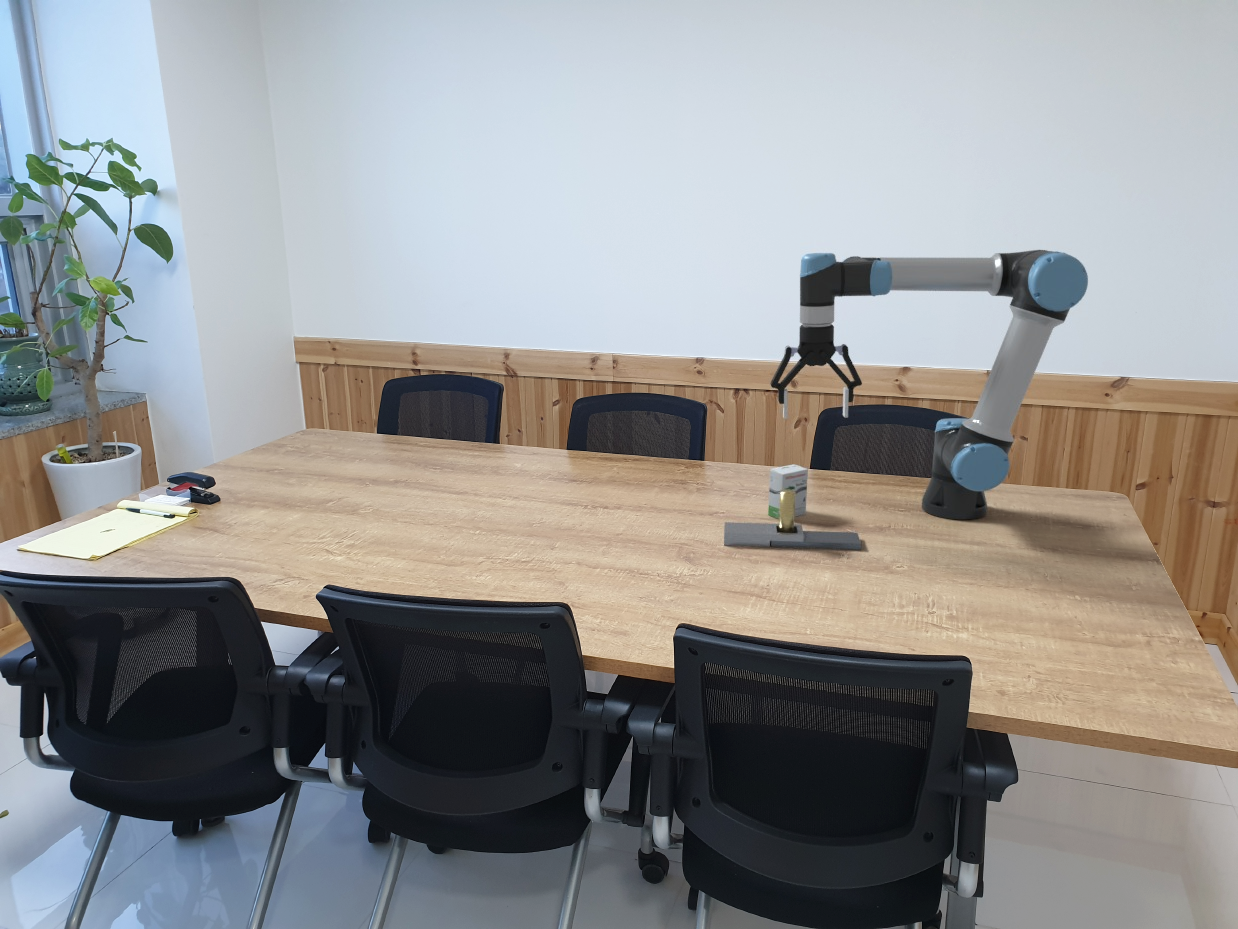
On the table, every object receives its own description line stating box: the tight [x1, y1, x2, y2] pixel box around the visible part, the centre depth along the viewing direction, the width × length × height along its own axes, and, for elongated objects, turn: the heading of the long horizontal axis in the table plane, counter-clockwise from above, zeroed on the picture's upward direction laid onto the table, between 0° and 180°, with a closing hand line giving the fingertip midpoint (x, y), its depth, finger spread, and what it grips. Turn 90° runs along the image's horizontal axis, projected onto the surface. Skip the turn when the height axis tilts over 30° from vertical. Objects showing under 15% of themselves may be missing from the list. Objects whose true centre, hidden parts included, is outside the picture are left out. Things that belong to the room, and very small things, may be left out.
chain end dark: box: [770, 530, 862, 551], centre depth 205 cm, size 20×7×2 cm, turn 82°
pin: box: [778, 489, 796, 533], centre depth 204 cm, size 3×3×12 cm
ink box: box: [767, 463, 809, 520], centre depth 222 cm, size 9×5×12 cm, turn 123°
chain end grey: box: [723, 521, 804, 548], centre depth 206 cm, size 18×7×3 cm, turn 82°
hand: (815, 417), depth 209 cm, fingers open, 13 cm apart
